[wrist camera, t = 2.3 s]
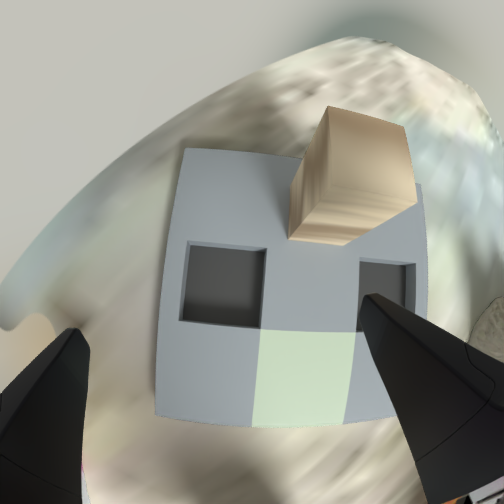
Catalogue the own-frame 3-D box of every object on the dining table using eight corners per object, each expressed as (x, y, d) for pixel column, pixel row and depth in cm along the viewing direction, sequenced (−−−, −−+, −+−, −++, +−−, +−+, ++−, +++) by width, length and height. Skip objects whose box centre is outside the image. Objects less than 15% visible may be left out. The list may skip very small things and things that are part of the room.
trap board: (402, 406, 20) (412, 412, 18) (161, 406, 19) (155, 415, 17) (410, 191, 24) (420, 184, 23) (188, 159, 23) (185, 147, 21)
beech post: (342, 245, 21) (417, 202, 11) (287, 240, 20) (332, 184, 11) (342, 193, 22) (403, 126, 12) (290, 185, 21) (327, 105, 12)
